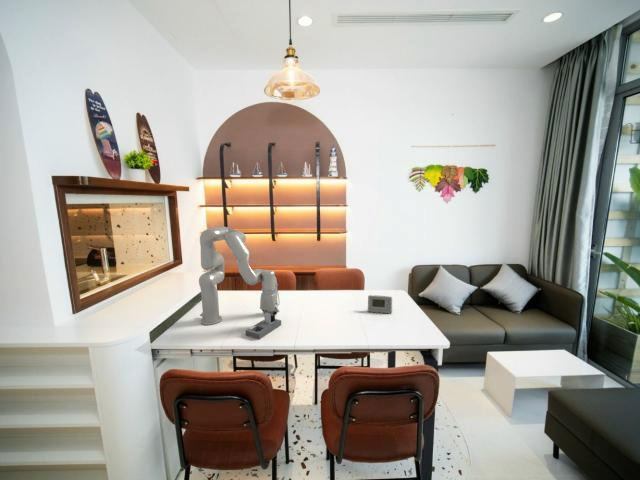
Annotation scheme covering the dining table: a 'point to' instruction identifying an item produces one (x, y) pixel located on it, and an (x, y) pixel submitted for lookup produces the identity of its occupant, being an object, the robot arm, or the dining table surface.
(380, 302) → the digital clock
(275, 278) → the water bottle
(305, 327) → the dining table surface
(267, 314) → the plug
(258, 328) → the panel
